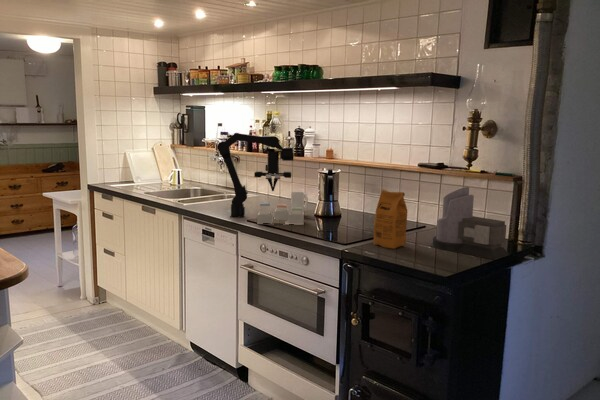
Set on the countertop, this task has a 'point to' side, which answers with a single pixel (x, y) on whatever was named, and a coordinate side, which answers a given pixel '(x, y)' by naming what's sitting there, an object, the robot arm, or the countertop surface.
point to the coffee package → (390, 220)
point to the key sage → (296, 210)
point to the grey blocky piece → (468, 228)
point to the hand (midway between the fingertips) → (272, 191)
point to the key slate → (265, 208)
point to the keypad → (281, 217)
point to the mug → (298, 200)
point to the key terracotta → (281, 207)
